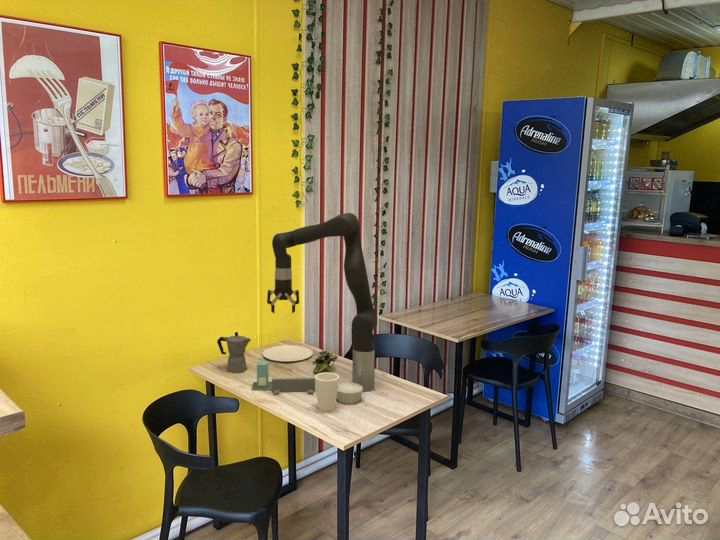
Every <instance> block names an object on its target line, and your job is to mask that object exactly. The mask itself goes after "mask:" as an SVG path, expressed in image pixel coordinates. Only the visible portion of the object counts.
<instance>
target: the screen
mask: <svg viewBox="0 0 720 540" xmlns="http://www.w3.org/2000/svg"><path fill="white" fill-rule="evenodd" d="M271 382H272V390H271V393H273V396H280V393H307V395H308V394H310V395H314V393H315V392H316V384H315V377H292V378H290V377H289V378H288V377H283V378H282V377H281V378H277V377H276V378H271Z"/></svg>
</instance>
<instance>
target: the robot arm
mask: <svg viewBox="0 0 720 540" xmlns="http://www.w3.org/2000/svg"><path fill="white" fill-rule="evenodd" d="M360 227H361V226H360V221H359V219H358V217H357V216H356V215H355V214H354V213H351V212H346V213H341V214H338V215H337V216H334V217H333V218H331V219H328V220H326V221H324V222H320V223H317V224H312V225H306V226H303V227H300V228H295V229H294V230H290V231H287V232H286V231H285V232H279V233H276V234H275V235H273V237H272V242H271V243H272V251H273V254H274V258H275V261H274V262H275V263H274V264H275V269H274V290H271V289H268V290H267V297H266V299H267V300H266V303H267V305H270V307H271V311H270V312H271V313H272V314H275V310H276V309H275V308H276V307H275V304H276V302H277V301H278V300H279V301H287V300H288V301H289V302H290V303H291V314H295V312H296V305H299V304H300V290H299V289H296V290H293V287H292V286H293V285H292V284H293V282H292V281H293V271H292V256H291V254H289V253H288V252H287V249H289V248H292V247H293V248H294V247H296V246H299V245H305V244H309V243H312V242H316V241H318V240H321V239H324V238H332V237H343V240H344V246H345V252H344V260H343V272H344V276H345V277H344V278H345V281H346V285H347V287H348V290H349V292H350V293H351V296H352V297H353V299H354V302H355V307H356V308H355V309H356V315H355V316H354V317H353V318H352V321H351V345H352V368H351V369H352V371H351V375H352V376H351V378H352V379H351V383H355V384H358V385H360V386H362V387H363V391H362V393H363V392H369V391H373V390H375V386H376V385H375V384H376V383H375V379H376V377H375V376H376V368H375V345H376V344H375V342H374V341H373V337H374V336H373V334H374V333H373V332H374V330H375V329H376V328H377V325H378V317H377V314H376V311H375V307H374V304H373V300H372V296H371V295H372V294H371V288H370V284H369V283H370V282H369V278H368V277H369V276H368V272H367V267H366V262H365V257H364V250H363V247H362V246H363V245H362V240H361V239H362V238H361V228H360ZM273 294H274V296H275V297H274V298H273V299H272V300H271V296H273ZM293 294H294V296H295V297H296V300H294V299H293V297H292V295H293Z"/></svg>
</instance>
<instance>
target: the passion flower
mask: <svg viewBox="0 0 720 540" xmlns="http://www.w3.org/2000/svg"><path fill="white" fill-rule="evenodd" d="M337 359H338V355H336V354H333V353H332V352H329V351H327V350H322V351H319V355H318V356H316V357H315V358H314V360H313V361H311V362H312V366H314V365H315V367H314V368H313V370H312V372H313V374H315V373H317V372H318V373H321V371H323V370H325V368H326V369H327V370H328V371H329V372H330V373H332V368H333V365H334V364H335V362H336V361H337ZM331 362H333V363H332V364H331ZM330 364H331V365H330Z"/></svg>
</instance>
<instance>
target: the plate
mask: <svg viewBox="0 0 720 540" xmlns="http://www.w3.org/2000/svg"><path fill="white" fill-rule="evenodd" d="M313 353H314V352H313V351H312V350H311V349H309V347H308V348H307V347H306V346H301V345H278V346H277V345H276V346H273V347H268V348H267V349H265V350H263V352H262V356H263V357H264V359H267V360H269V361H273V362H280V363H292V362H293V363H294V362H299V361H303V360H307V359H309V358H311V357H312V356H313Z"/></svg>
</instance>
